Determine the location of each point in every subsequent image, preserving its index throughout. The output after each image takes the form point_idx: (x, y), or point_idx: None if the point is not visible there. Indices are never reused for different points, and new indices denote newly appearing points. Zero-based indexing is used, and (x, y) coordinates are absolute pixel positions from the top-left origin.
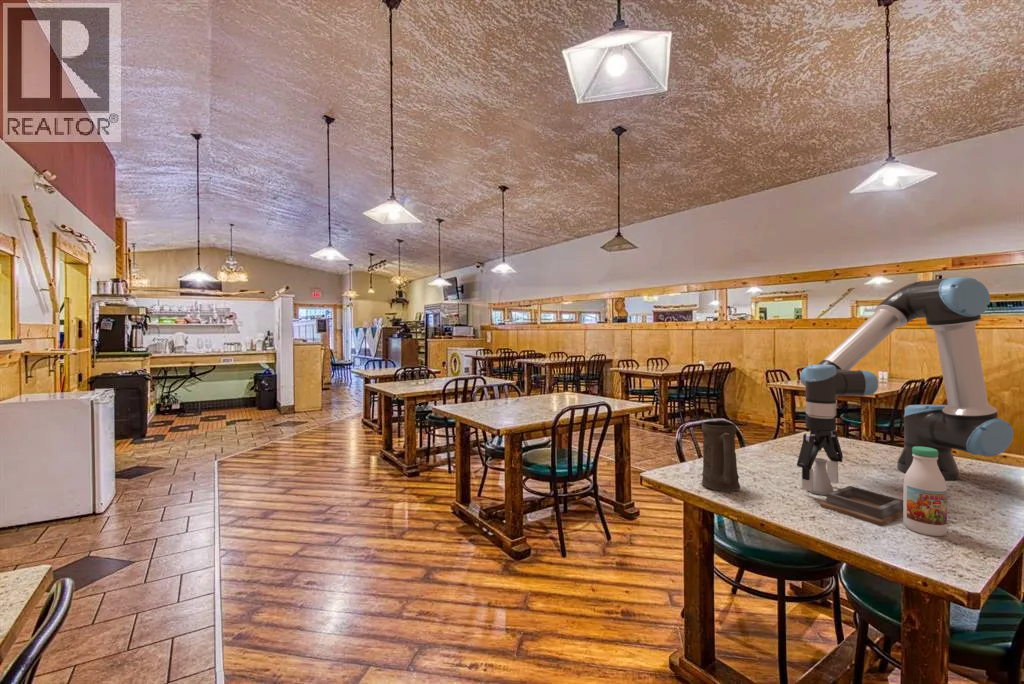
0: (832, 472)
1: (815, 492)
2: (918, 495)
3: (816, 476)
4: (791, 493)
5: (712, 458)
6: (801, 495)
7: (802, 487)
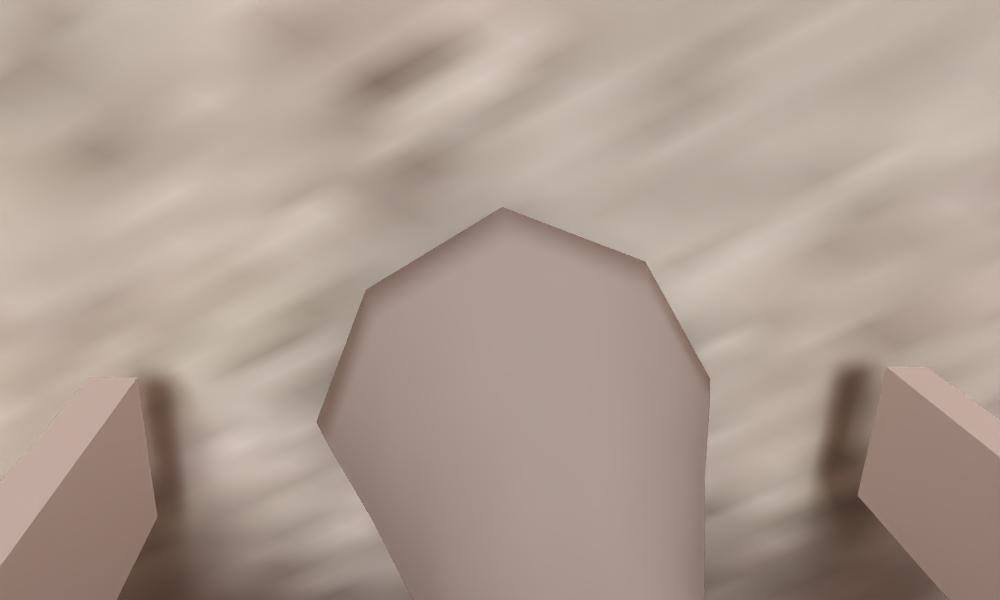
0: (979, 547)
1: (328, 434)
2: None
3: (410, 562)
4: (11, 219)
5: None
6: (87, 345)
7: (78, 398)
